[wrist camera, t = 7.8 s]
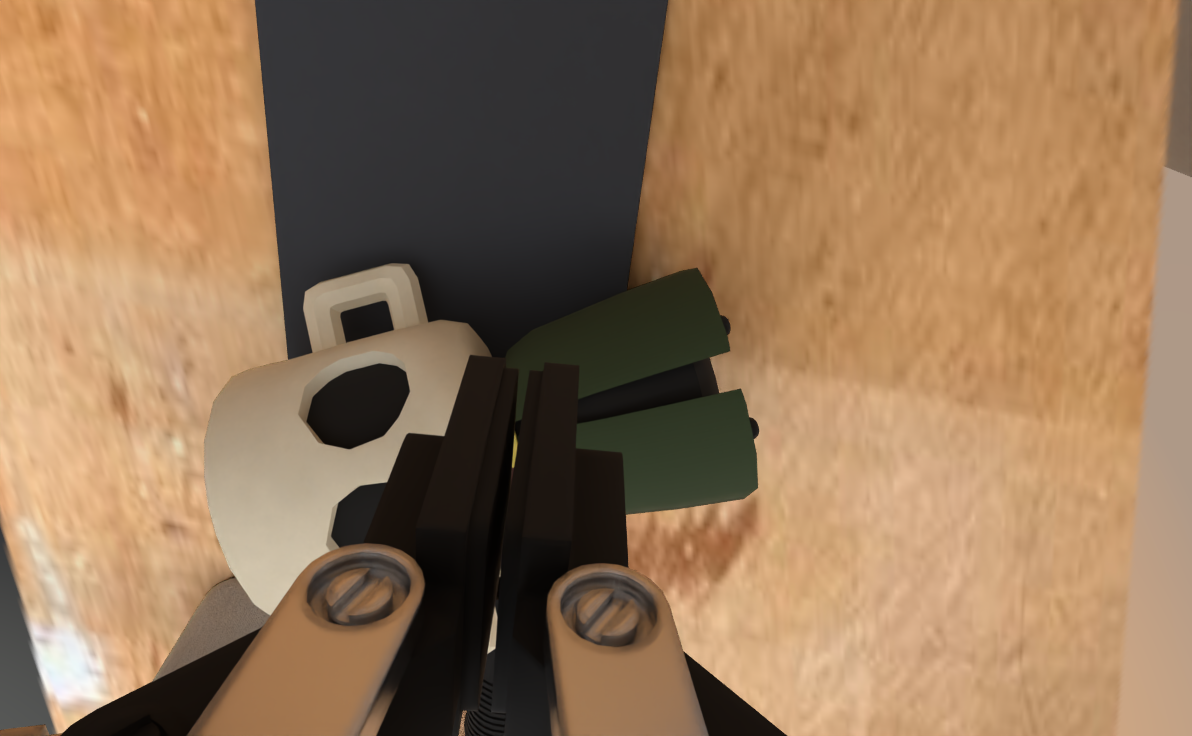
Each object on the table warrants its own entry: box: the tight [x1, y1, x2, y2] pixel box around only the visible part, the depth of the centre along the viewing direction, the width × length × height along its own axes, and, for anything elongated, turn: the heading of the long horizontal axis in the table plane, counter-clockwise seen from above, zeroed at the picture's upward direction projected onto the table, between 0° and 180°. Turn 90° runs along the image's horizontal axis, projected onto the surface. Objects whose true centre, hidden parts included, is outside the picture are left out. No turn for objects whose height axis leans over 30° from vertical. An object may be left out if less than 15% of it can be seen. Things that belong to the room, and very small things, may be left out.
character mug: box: [204, 263, 759, 654], centre depth 21 cm, size 11×7×13 cm
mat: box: [255, 0, 668, 360], centre depth 21 cm, size 10×17×1 cm, turn 174°
